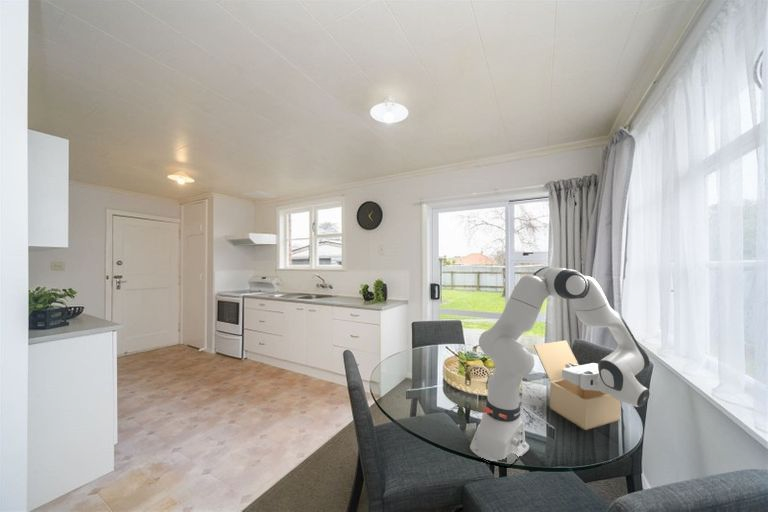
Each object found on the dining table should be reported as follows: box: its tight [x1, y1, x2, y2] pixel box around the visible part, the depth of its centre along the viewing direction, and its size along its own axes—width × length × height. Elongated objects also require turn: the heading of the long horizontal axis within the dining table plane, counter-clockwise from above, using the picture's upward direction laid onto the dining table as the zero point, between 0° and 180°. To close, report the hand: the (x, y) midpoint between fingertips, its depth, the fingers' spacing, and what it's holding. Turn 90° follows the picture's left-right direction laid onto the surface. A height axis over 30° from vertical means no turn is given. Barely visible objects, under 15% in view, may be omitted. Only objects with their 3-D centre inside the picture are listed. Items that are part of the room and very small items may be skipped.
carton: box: [549, 379, 622, 431], centre depth 125 cm, size 16×20×12 cm
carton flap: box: [533, 340, 580, 382], centre depth 136 cm, size 16×20×1 cm
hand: (567, 365), depth 132 cm, fingers closed
